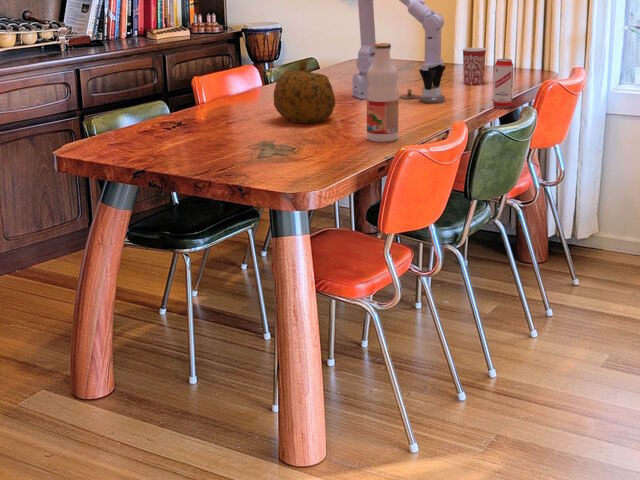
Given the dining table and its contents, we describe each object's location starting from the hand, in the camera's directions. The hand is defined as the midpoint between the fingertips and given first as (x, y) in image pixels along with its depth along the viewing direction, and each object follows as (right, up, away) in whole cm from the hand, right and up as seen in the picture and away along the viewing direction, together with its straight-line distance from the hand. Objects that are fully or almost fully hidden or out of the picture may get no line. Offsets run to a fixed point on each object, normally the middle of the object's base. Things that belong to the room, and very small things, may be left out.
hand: (432, 87), depth 327 cm
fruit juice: (-21, -24, -53) cm, 62 cm away
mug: (+21, +7, +34) cm, 41 cm away
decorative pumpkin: (-45, -15, -25) cm, 53 cm away
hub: (0, -4, +2) cm, 5 cm away
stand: (-7, -2, +9) cm, 12 cm away
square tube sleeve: (0, -3, +1) cm, 3 cm away
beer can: (+23, -9, -12) cm, 27 cm away
